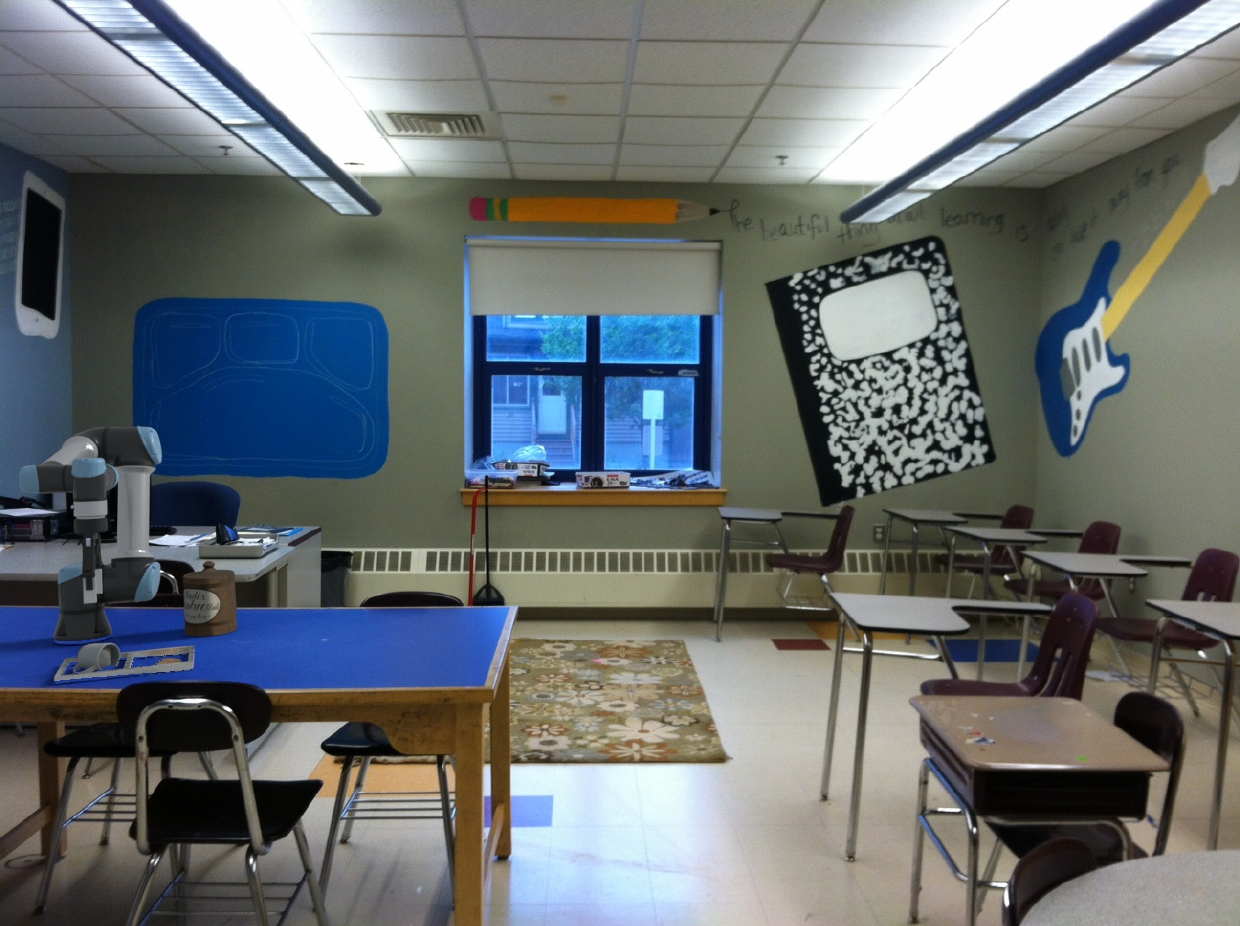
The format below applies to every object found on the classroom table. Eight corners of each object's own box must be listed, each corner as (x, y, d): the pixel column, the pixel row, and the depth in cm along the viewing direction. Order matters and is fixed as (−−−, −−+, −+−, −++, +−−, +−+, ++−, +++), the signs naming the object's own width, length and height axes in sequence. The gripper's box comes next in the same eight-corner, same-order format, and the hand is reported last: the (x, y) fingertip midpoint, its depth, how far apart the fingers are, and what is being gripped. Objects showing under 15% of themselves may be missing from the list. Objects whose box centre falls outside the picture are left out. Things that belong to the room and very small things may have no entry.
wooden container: (173, 635, 271) (171, 564, 270) (208, 624, 285) (206, 556, 284) (214, 638, 267) (212, 566, 266) (247, 627, 281) (245, 558, 280)
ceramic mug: (97, 665, 238) (95, 638, 238) (121, 667, 236) (120, 640, 236) (64, 677, 228) (63, 648, 228) (89, 679, 226) (88, 650, 226)
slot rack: (65, 665, 238) (65, 658, 238) (194, 652, 251) (194, 645, 251) (54, 685, 221) (54, 677, 220) (193, 669, 234) (193, 661, 234)
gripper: (80, 513, 240) (82, 591, 241) (66, 522, 218) (69, 608, 219) (111, 512, 243) (114, 588, 244) (102, 520, 221) (104, 605, 222)
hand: (93, 598), depth 231 cm, fingers open, 13 cm apart
